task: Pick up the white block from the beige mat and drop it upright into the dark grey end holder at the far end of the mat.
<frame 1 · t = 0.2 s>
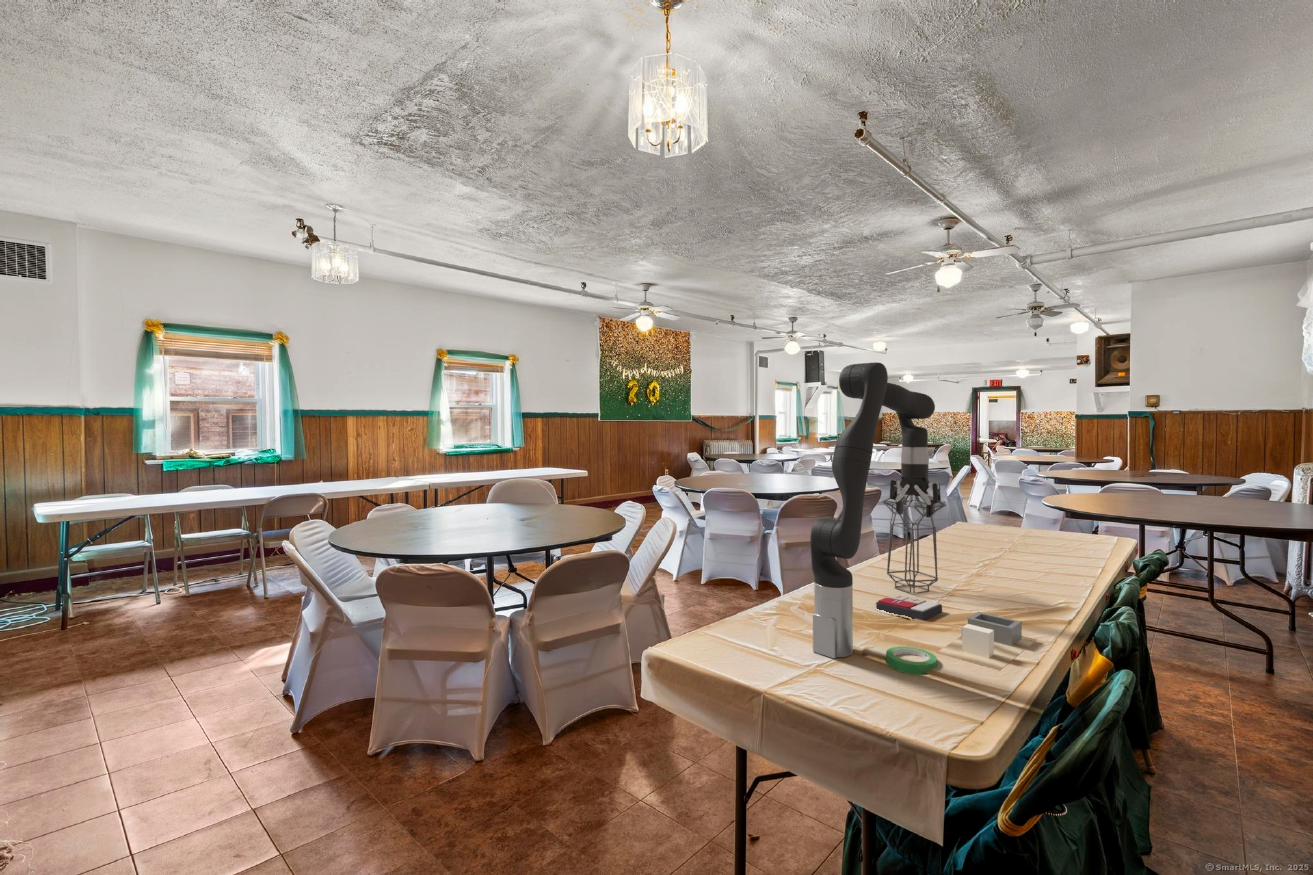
hand: (914, 515, 174), 29 cm above the table, tool pointing down, fingers open, 8 cm apart
white block: (977, 652, 141), point 1 cm above the table, touching beige mat
calculator: (908, 615, 173), on the table
beige mat: (987, 649, 145), on the table
end holder: (994, 636, 151), resting on beige mat
tape roll: (911, 666, 137), on the table
geometric lantern: (913, 589, 197), on the table
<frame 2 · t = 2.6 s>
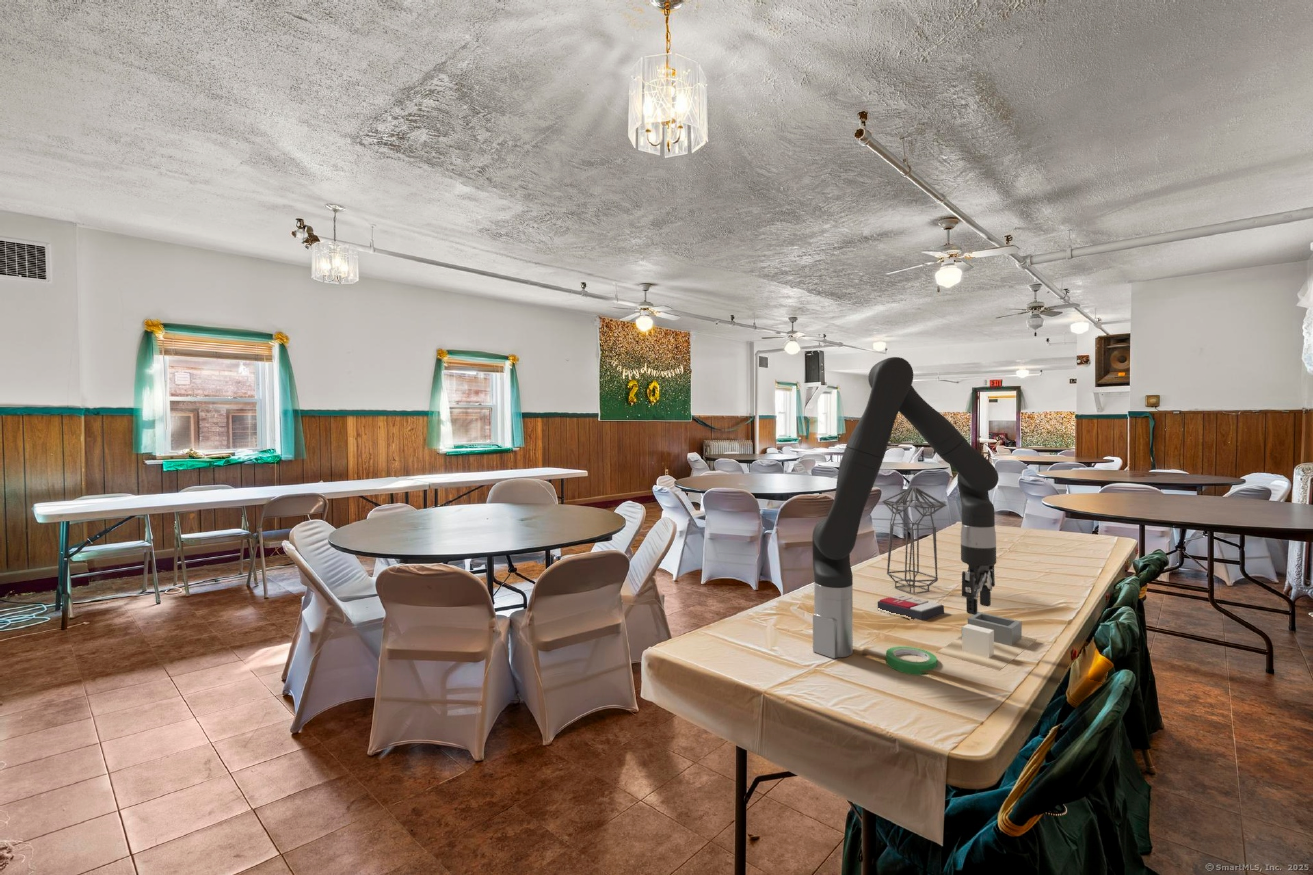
hand: (978, 609, 141), 12 cm above the table, tool pointing down, fingers open, 8 cm apart
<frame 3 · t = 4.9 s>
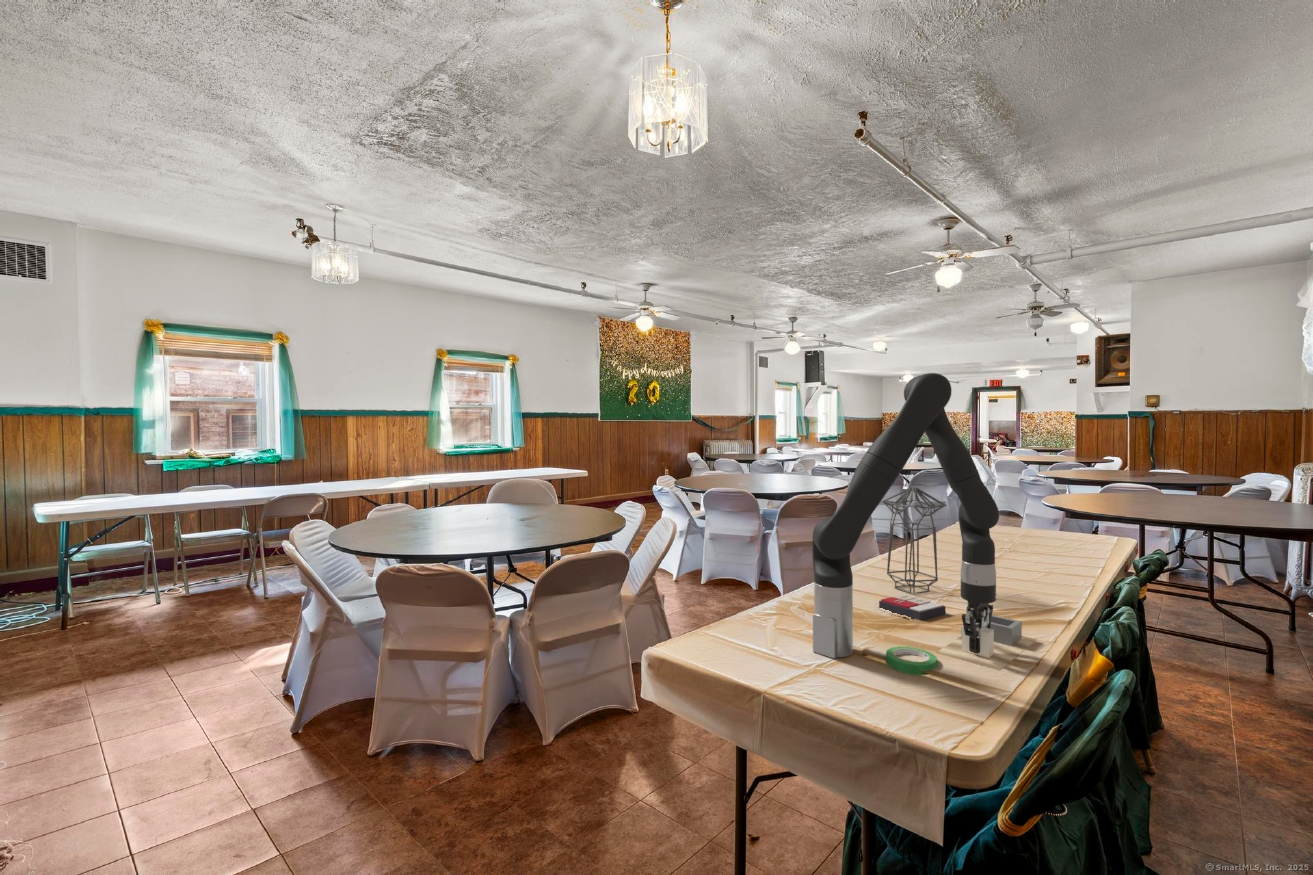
hand: (977, 649, 141), 2 cm above the table, tool pointing down, fingers closed on white block, 3 cm apart
white block: (977, 652, 141), point 1 cm above the table, touching gripper
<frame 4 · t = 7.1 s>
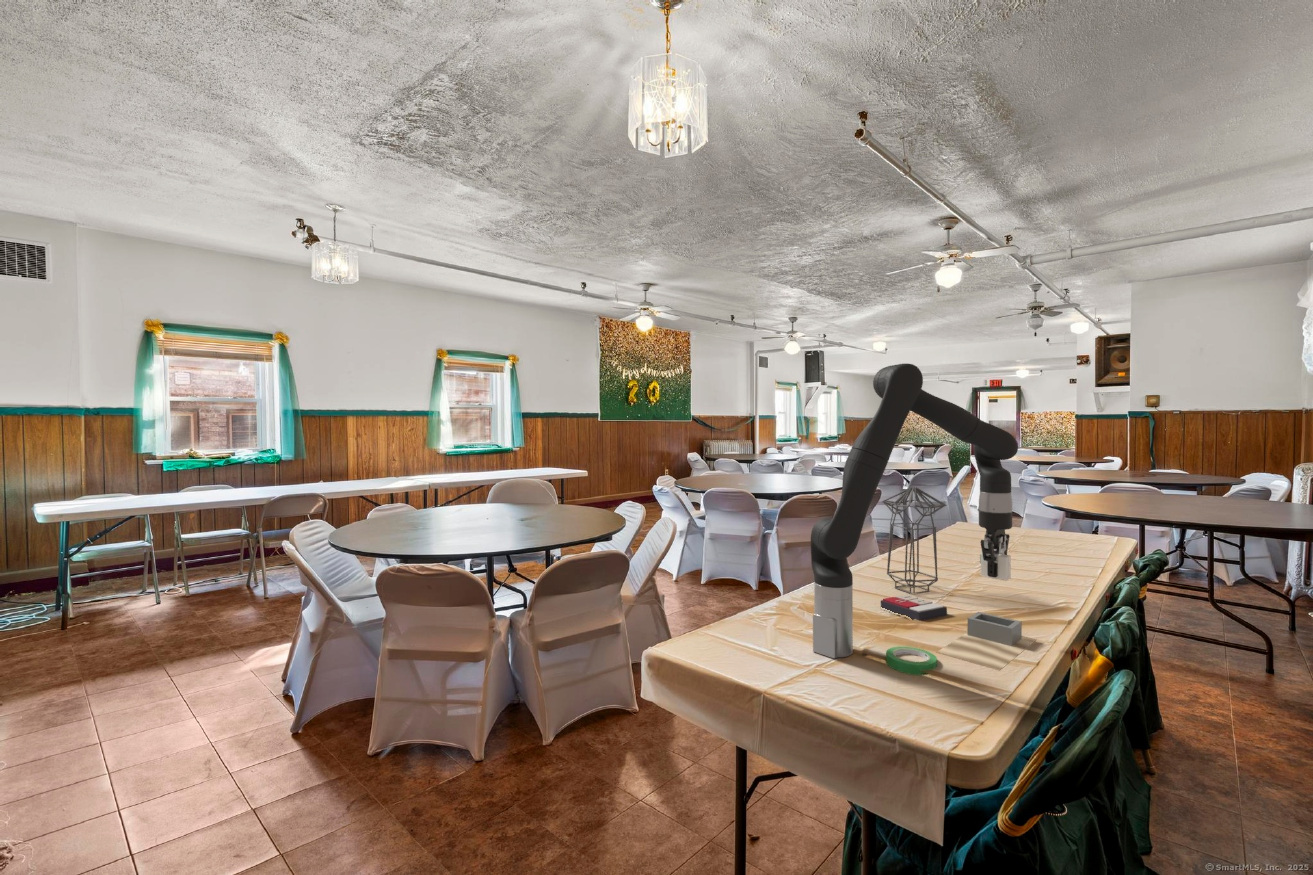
hand: (995, 575, 150), 17 cm above the table, tool pointing down, fingers closed on white block, 3 cm apart
white block: (995, 577, 150), point 17 cm above the table, touching gripper
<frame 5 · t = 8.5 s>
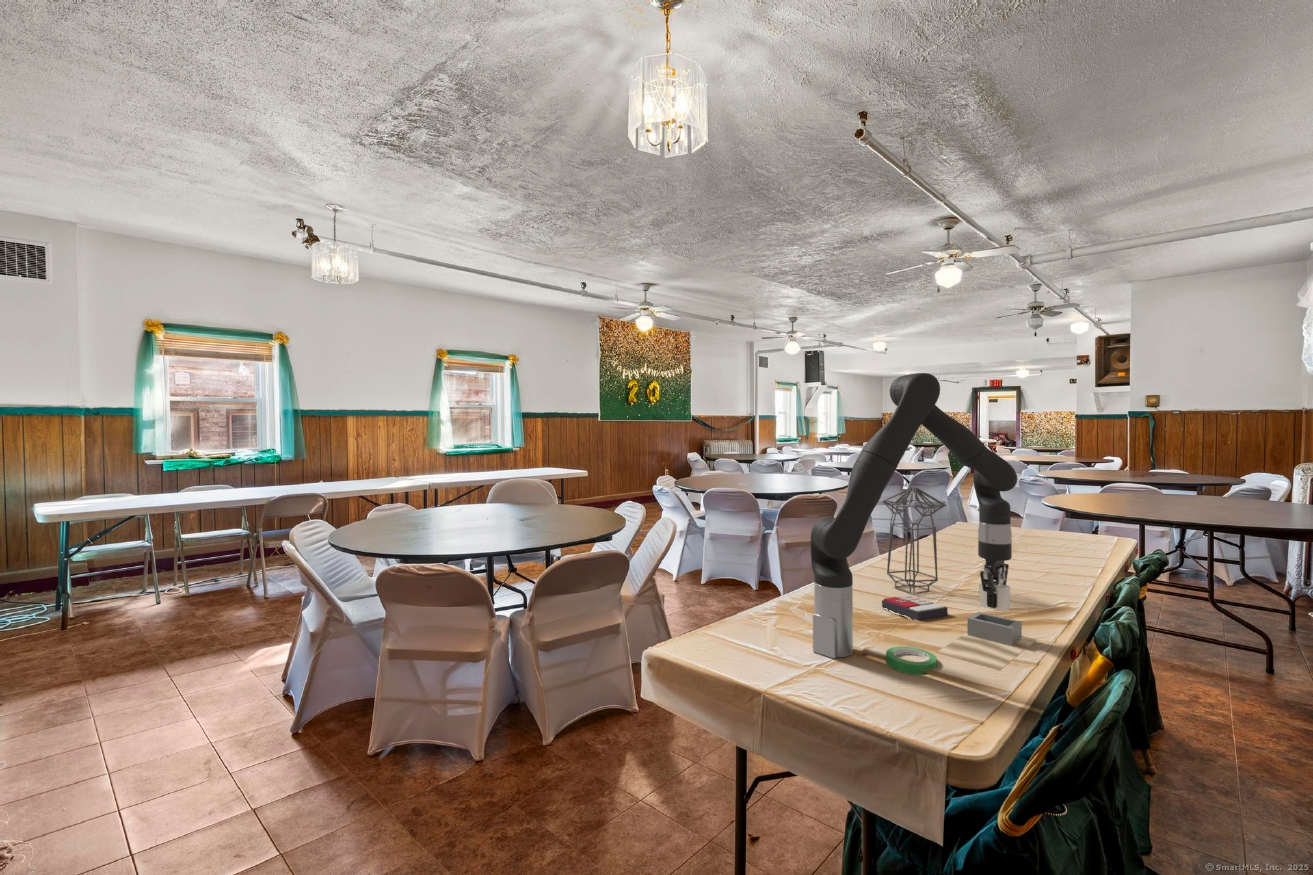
hand: (994, 605, 151), 9 cm above the table, tool pointing down, fingers closed on white block, 3 cm apart
white block: (994, 607, 151), point 9 cm above the table, touching gripper
when the fingers open (7 cm above the table, at t = 9.6 s): white block drops 5 cm, resting on end holder.
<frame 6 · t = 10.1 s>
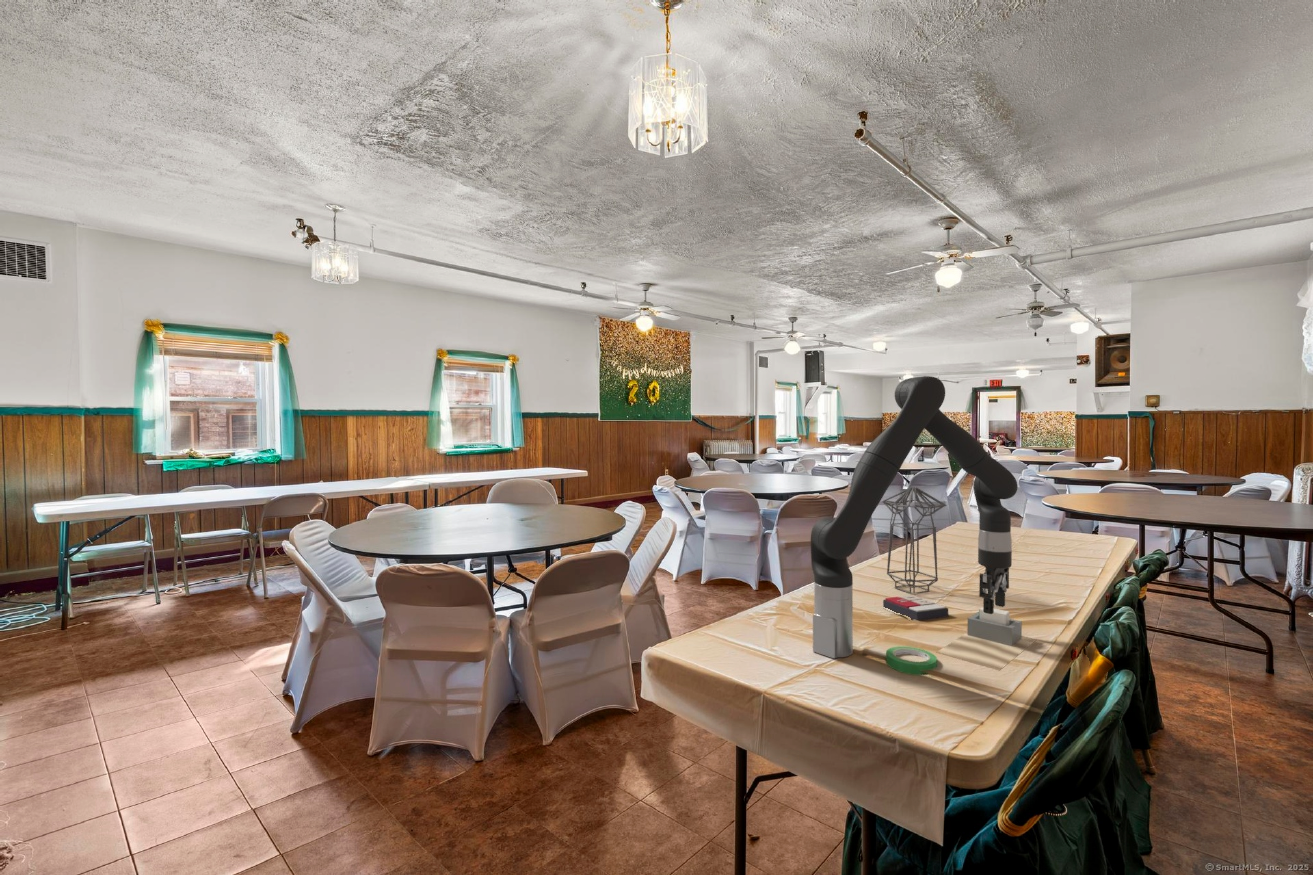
hand: (994, 609, 151), 8 cm above the table, tool pointing down, fingers open, 8 cm apart
white block: (994, 633, 151), point 2 cm above the table, touching end holder
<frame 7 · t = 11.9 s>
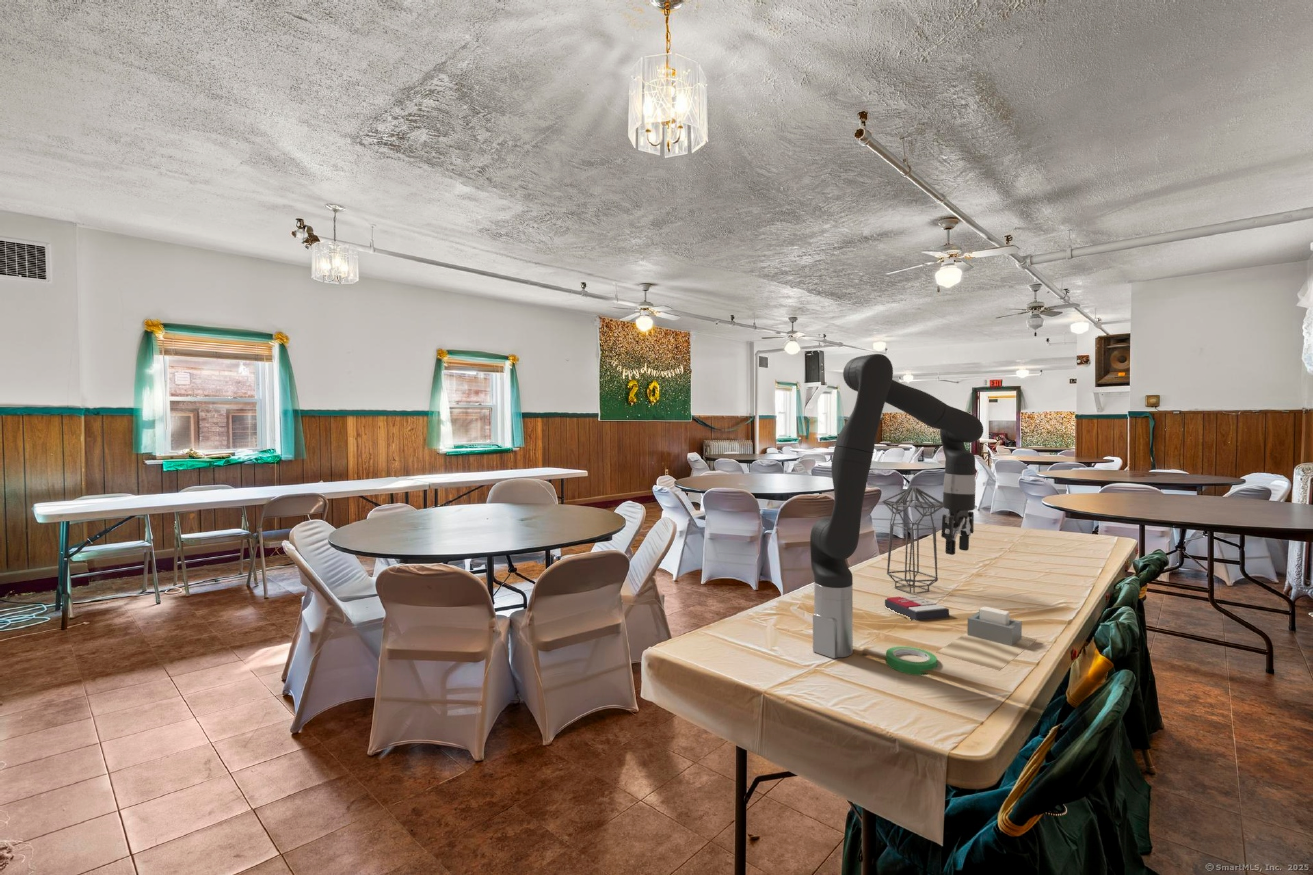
hand: (957, 552, 153), 23 cm above the table, tool pointing down, fingers open, 8 cm apart
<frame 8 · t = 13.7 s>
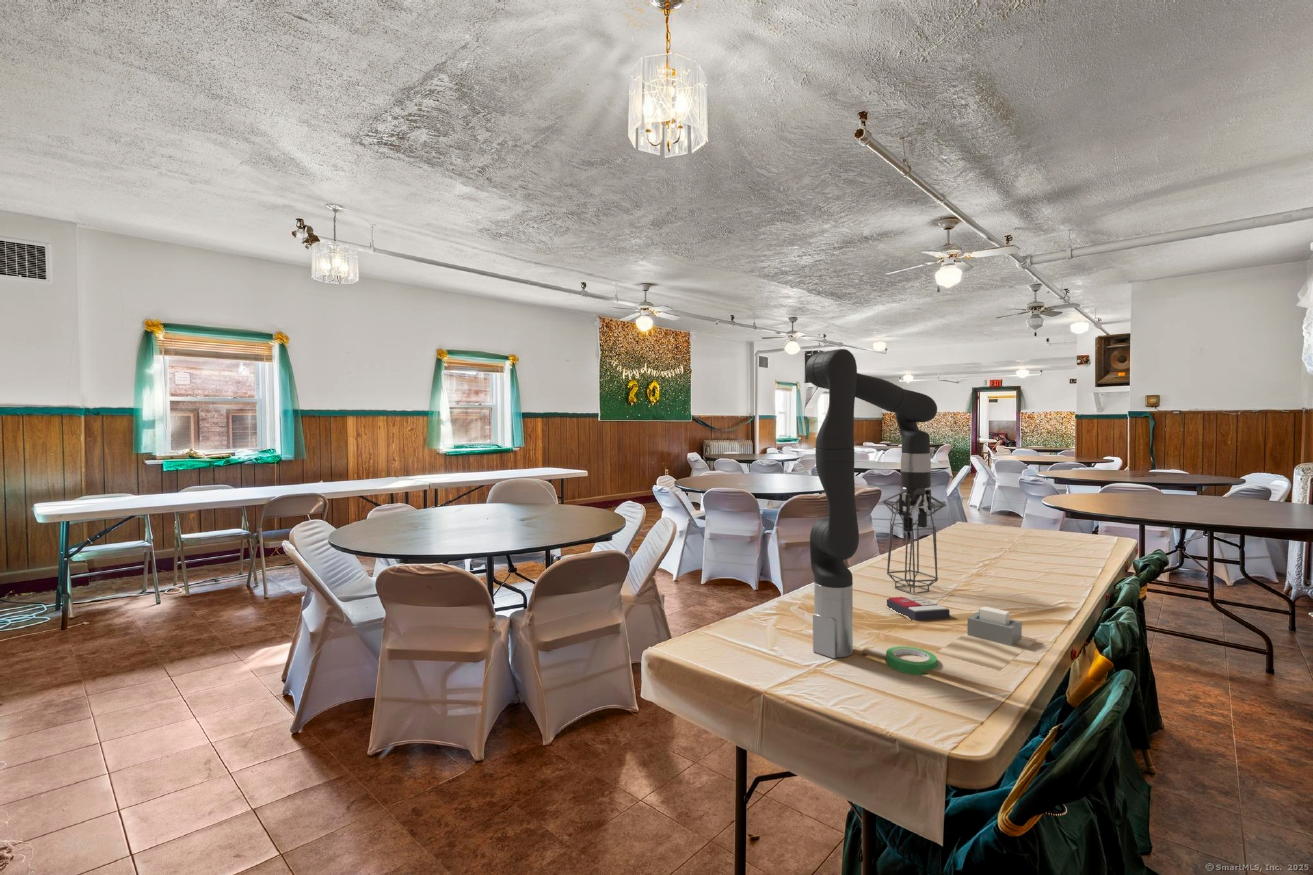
hand: (915, 529, 158), 28 cm above the table, tool pointing down, fingers open, 8 cm apart
at the end: white block 0.1 cm off-centre on the end holder, point 1.0 cm above the end holder's base; white block tilted 0°; the gripper is holding nothing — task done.
